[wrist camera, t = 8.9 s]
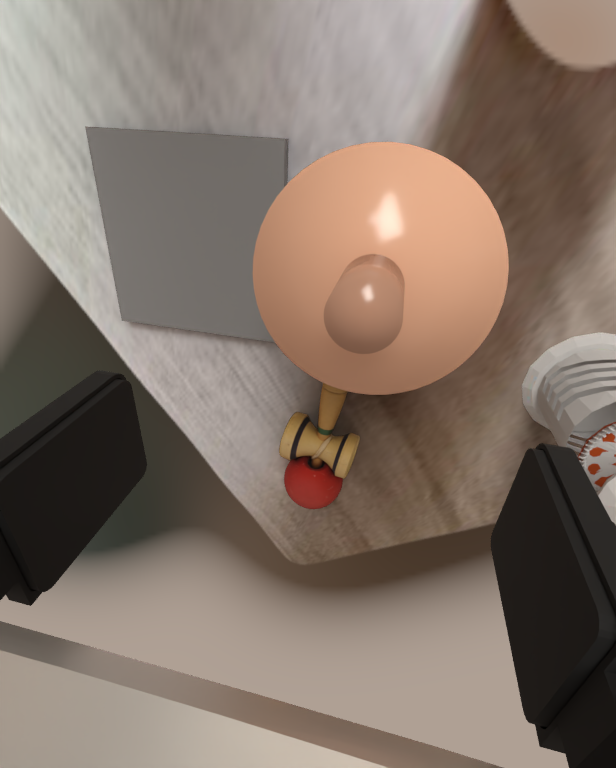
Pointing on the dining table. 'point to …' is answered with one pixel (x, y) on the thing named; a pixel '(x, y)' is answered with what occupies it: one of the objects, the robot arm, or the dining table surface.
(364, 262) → the lid
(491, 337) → the dining table surface
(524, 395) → the french press
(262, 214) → the mat
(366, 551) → the dining table surface
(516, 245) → the dining table surface
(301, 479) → the kendama
